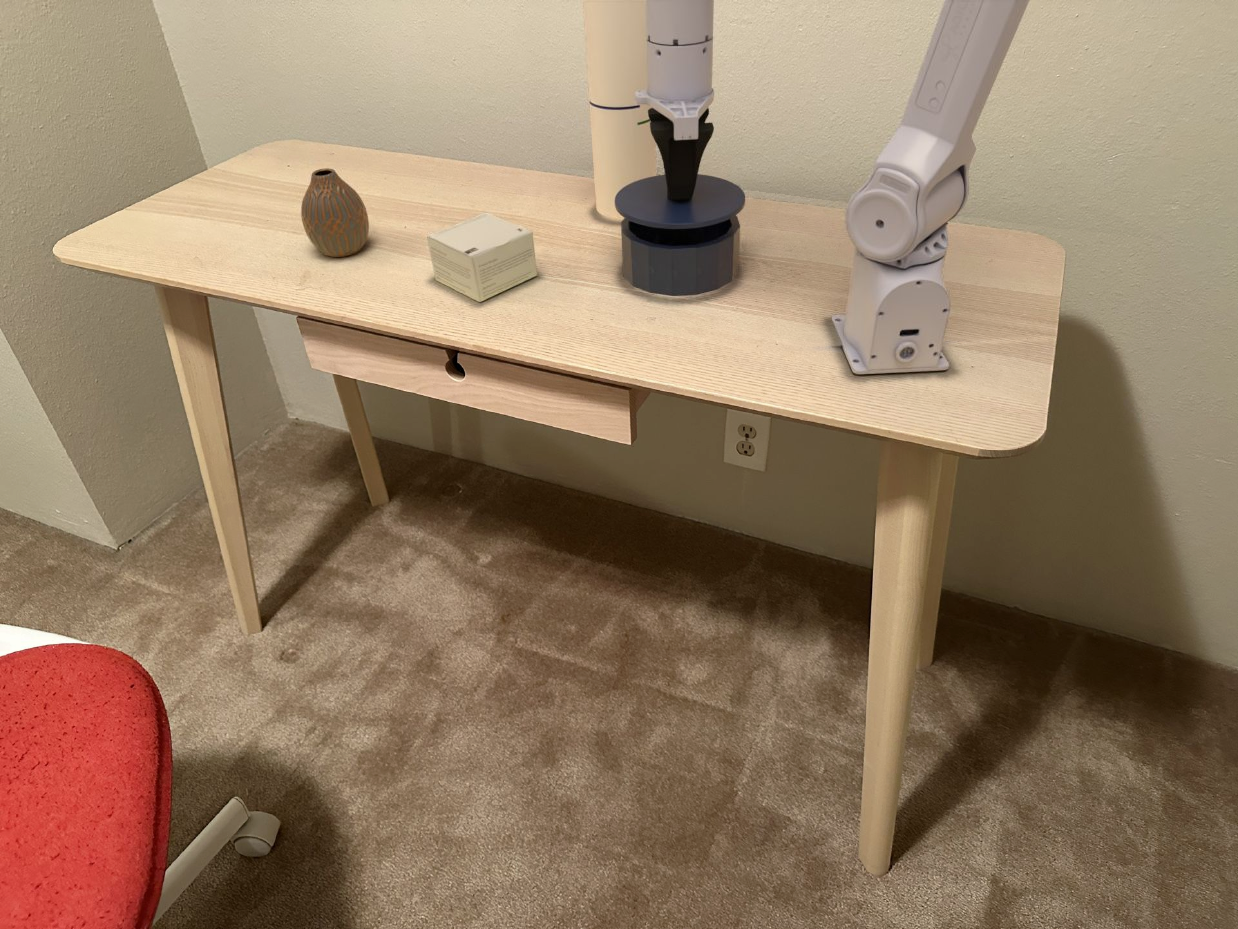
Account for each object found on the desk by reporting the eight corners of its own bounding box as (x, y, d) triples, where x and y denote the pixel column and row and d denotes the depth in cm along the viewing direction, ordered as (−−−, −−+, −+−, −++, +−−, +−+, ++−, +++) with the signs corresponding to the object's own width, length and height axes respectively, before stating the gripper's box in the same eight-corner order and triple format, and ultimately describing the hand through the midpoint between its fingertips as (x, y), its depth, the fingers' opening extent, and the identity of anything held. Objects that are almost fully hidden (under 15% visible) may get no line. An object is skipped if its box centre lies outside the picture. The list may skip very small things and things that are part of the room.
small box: (492, 255, 93) (486, 210, 90) (539, 277, 89) (534, 229, 85) (433, 280, 89) (424, 234, 86) (479, 304, 84) (471, 256, 81)
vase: (300, 261, 94) (276, 182, 89) (330, 234, 99) (310, 159, 94) (357, 265, 93) (336, 185, 87) (385, 238, 98) (367, 161, 92)
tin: (743, 297, 83) (746, 245, 80) (624, 303, 83) (622, 251, 80) (729, 246, 92) (731, 197, 89) (622, 251, 92) (619, 203, 89)
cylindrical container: (589, 204, 103) (572, -33, 87) (645, 195, 104) (639, -40, 89) (606, 226, 98) (592, -22, 82) (665, 216, 99) (662, -30, 83)
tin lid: (753, 231, 78) (756, 182, 76) (616, 238, 79) (613, 189, 76) (736, 180, 88) (738, 135, 85) (614, 187, 88) (611, 141, 85)
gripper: (630, 21, 80) (635, 166, 88) (636, 62, 68) (641, 224, 77) (706, 17, 79) (704, 163, 88) (725, 57, 68) (719, 220, 77)
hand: (679, 191), depth 82 cm, fingers closed on tin lid, 2 cm apart
